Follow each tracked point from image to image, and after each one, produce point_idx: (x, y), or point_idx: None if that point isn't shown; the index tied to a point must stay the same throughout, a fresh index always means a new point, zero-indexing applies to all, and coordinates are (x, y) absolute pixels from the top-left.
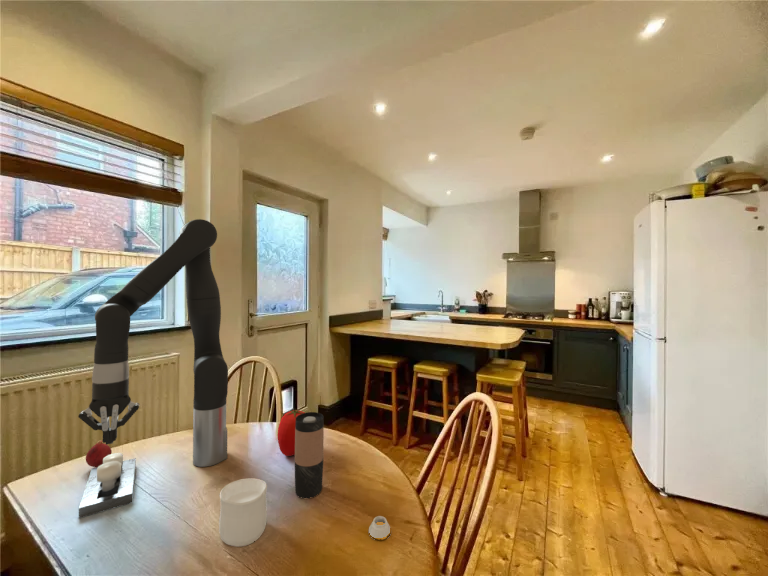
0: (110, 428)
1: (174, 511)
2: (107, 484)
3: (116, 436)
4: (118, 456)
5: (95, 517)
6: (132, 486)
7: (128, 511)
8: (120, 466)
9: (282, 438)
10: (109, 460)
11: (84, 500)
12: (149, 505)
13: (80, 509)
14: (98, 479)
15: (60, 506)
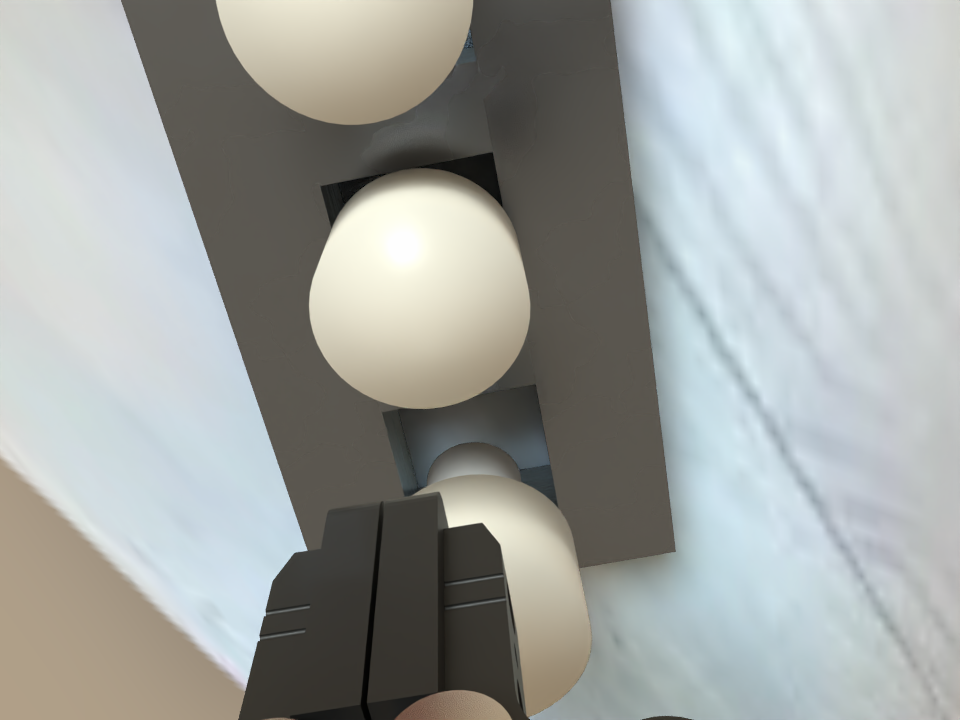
0: (363, 692)
1: (934, 684)
2: None
3: (516, 641)
4: (423, 20)
5: None
6: (660, 451)
7: (651, 591)
8: (527, 322)
9: None
10: (336, 113)
11: (322, 523)
12: (781, 574)
13: None
14: None
15: (105, 354)
